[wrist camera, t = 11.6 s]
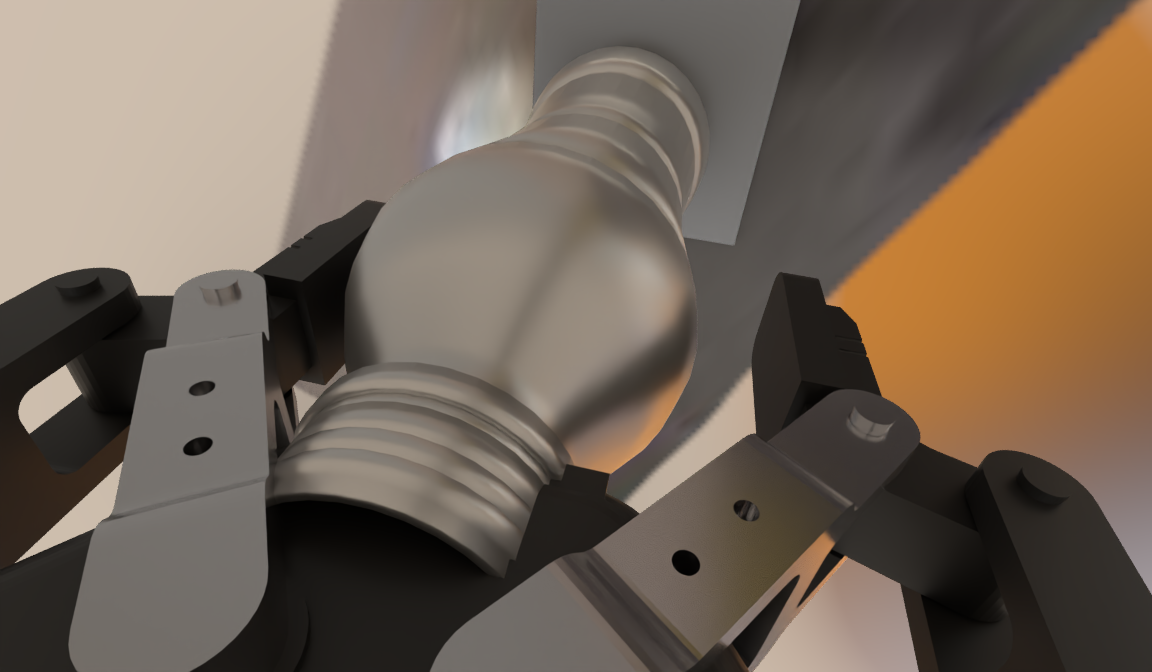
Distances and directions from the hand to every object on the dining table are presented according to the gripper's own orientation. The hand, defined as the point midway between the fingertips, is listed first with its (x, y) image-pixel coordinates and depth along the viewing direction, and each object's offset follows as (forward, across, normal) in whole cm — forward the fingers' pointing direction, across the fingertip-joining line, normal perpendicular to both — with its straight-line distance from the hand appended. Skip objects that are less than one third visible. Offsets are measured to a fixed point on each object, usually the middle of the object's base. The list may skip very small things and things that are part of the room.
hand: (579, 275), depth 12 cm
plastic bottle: (+12, +1, 0) cm, 13 cm away
